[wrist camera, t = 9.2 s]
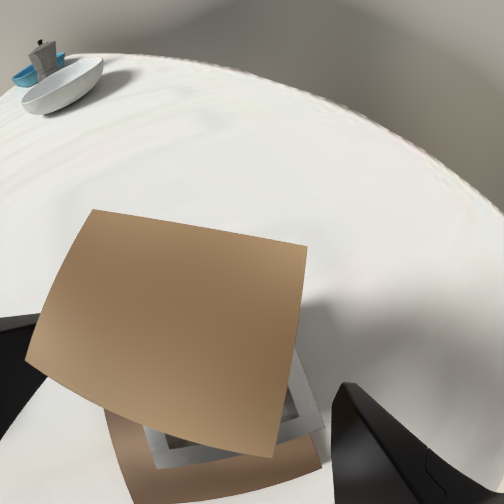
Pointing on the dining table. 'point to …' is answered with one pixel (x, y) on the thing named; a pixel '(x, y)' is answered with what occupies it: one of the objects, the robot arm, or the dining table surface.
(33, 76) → the casserole dish
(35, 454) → the dining table surface
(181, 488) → the walnut board
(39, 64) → the coffeepot
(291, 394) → the steel end cap
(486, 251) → the dining table surface
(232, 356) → the oak block
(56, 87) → the serving bowl
